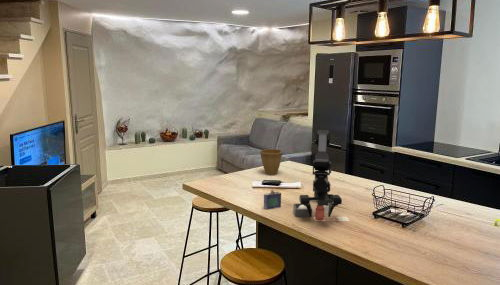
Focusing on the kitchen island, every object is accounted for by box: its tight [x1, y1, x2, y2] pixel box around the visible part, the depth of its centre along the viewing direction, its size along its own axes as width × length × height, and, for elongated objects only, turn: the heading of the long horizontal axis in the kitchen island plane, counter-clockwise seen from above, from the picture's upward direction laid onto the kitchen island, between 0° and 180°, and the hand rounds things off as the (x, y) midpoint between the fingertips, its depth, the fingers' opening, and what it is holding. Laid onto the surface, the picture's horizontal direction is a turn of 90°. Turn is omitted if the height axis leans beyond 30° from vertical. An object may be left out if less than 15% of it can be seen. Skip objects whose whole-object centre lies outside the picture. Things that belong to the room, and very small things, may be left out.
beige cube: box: [323, 205, 329, 215], centre depth 182 cm, size 4×4×4 cm
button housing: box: [292, 203, 313, 218], centre depth 179 cm, size 8×8×4 cm
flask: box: [263, 189, 282, 210], centre depth 188 cm, size 9×3×11 cm, turn 109°
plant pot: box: [259, 148, 283, 176], centre depth 254 cm, size 15×15×16 cm
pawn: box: [314, 204, 325, 222], centre depth 173 cm, size 4×4×7 cm
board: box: [312, 216, 350, 222], centre depth 177 cm, size 14×26×2 cm, turn 91°
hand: (319, 217), depth 173 cm, fingers open, 8 cm apart
